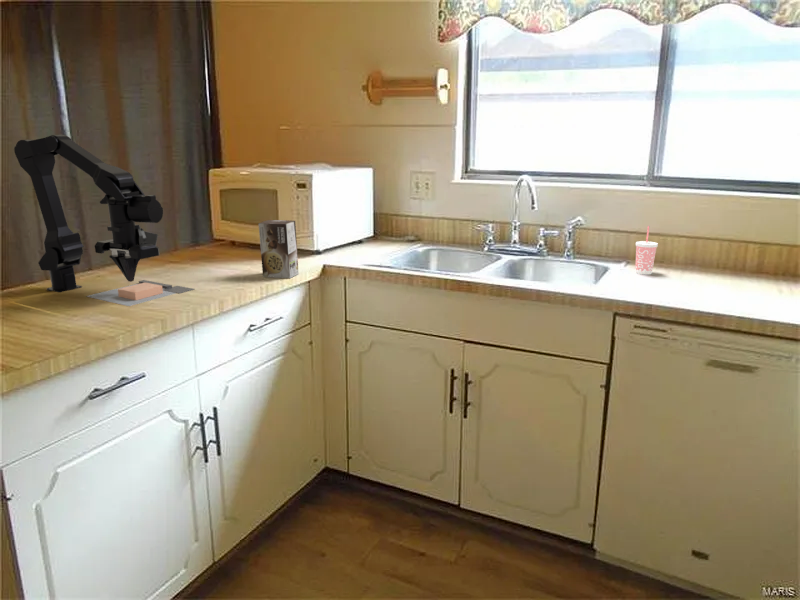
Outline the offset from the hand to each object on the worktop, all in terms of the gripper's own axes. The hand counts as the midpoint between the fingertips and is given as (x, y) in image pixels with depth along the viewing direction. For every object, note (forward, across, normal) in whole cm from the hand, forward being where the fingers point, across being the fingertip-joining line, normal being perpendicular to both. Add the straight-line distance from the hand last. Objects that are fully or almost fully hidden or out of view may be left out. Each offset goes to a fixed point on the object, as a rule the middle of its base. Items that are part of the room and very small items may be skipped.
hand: (130, 281), depth 154 cm
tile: (+2, 0, 0) cm, 2 cm away
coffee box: (+4, -19, -36) cm, 41 cm away
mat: (+4, -1, 0) cm, 4 cm away
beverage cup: (+4, -111, -93) cm, 145 cm away
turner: (+4, -2, -8) cm, 9 cm away
